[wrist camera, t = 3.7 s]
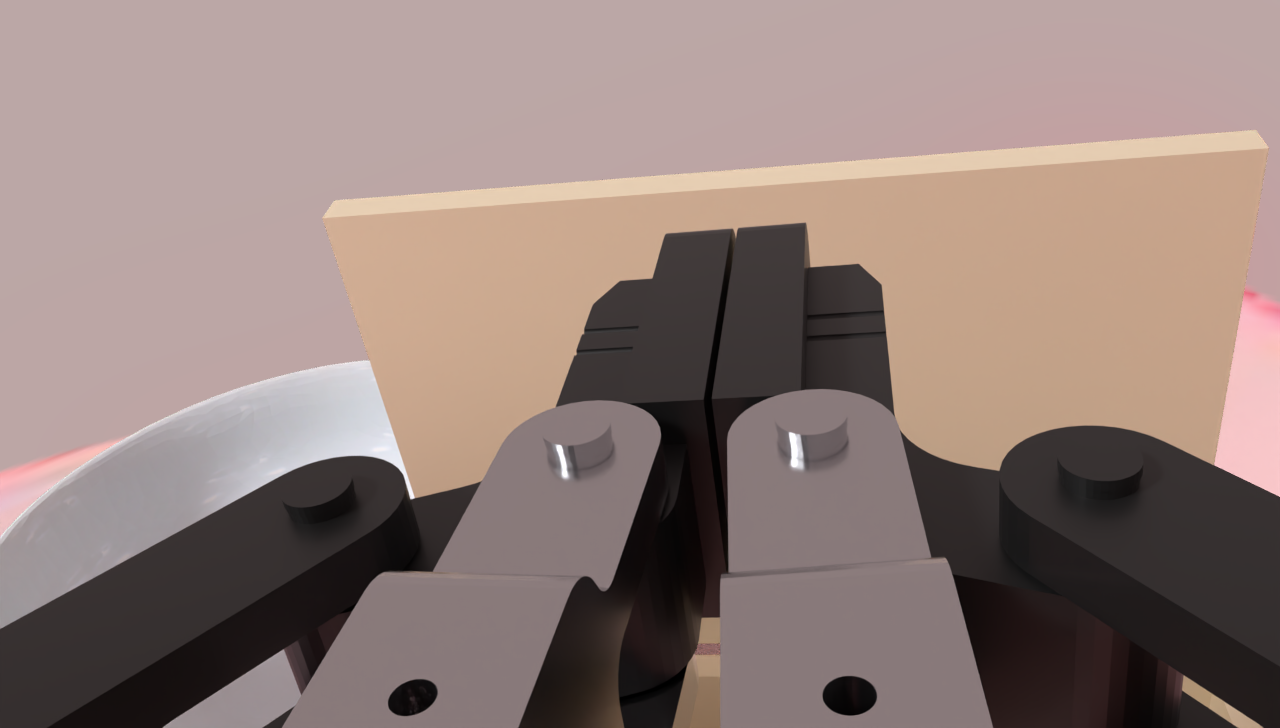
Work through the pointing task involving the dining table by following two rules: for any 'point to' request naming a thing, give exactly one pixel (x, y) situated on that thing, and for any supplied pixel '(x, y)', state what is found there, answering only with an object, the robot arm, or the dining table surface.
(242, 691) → the serving bowl
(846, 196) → the carton flap
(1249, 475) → the dining table surface
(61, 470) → the dining table surface
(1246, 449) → the dining table surface
